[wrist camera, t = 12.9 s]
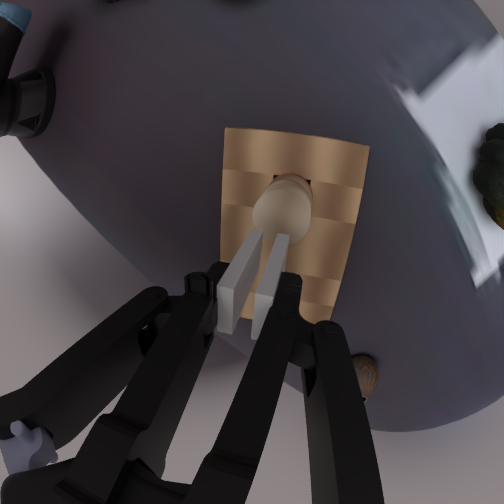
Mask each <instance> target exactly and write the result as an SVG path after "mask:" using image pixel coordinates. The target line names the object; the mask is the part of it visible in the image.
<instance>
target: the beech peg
mask: <svg viewBox="0 0 504 504" xmlns="http://www.w3.org/2000/svg"><path fill="white" fill-rule="evenodd" d="M312 197H313V194H312V189H311V187H310V185H309V183H308V182H307V181H306V180H305V179H304V178H303V177H301V176H300V175H297V174H293V173H285V174H281V175H279V176H277V177H276V178H275V179H274V180H273V181H272V182H271V183H270V185H269V186H268V188H267V189H266V190H265V192H264V193H263V194H262V195H261V197H260V198H259V199H258V201H257V202H256V204H255V206H254V209H253V214H252V218H253V223H254V226H255V228H256V230H261V231H263V238H264V239H265V240H267V241H269V242H271V243H273V244H274V242H275V239H276V237H277V234H278V233H280V234H286V235H290V237H289V244H292V243H295V242H297V241H299V240H300V239H301V238H302V237H303V236H304V235H305V234H306V232H307V231H308V228H309V225H310V218H311V205H312ZM289 244H288V245H289Z"/></svg>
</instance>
